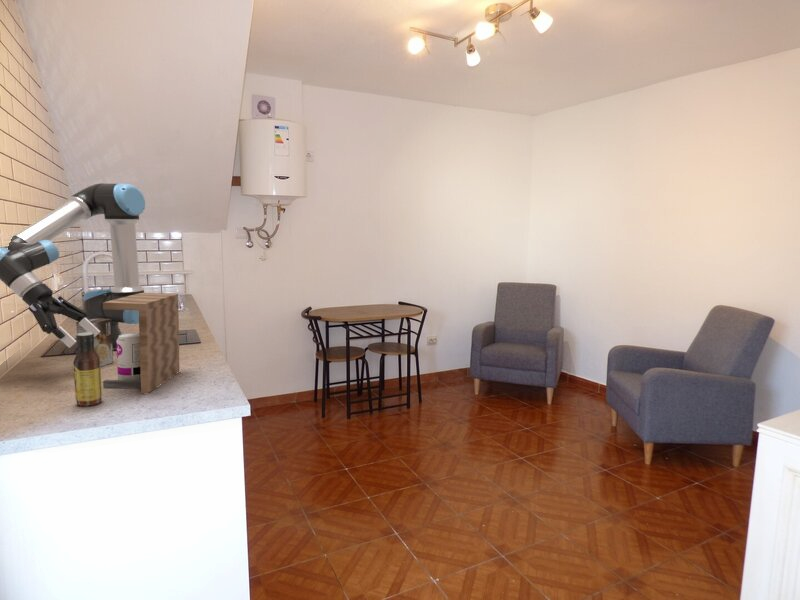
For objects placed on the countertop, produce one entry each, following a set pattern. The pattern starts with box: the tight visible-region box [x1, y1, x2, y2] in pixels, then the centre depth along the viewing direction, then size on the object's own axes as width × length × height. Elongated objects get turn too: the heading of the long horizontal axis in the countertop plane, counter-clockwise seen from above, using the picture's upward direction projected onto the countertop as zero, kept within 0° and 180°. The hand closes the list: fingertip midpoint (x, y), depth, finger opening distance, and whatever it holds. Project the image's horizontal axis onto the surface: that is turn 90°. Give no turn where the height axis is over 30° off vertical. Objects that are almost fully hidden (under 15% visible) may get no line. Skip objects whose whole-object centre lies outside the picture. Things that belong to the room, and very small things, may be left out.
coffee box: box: [75, 318, 114, 368], centre depth 175 cm, size 9×6×16 cm
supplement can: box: [116, 332, 141, 381], centre depth 158 cm, size 8×8×15 cm
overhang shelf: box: [102, 292, 181, 394], centre depth 157 cm, size 24×16×27 cm, turn 3°
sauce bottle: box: [72, 332, 103, 407], centre depth 137 cm, size 7×6×20 cm
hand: (85, 339), depth 158 cm, fingers open, 13 cm apart
